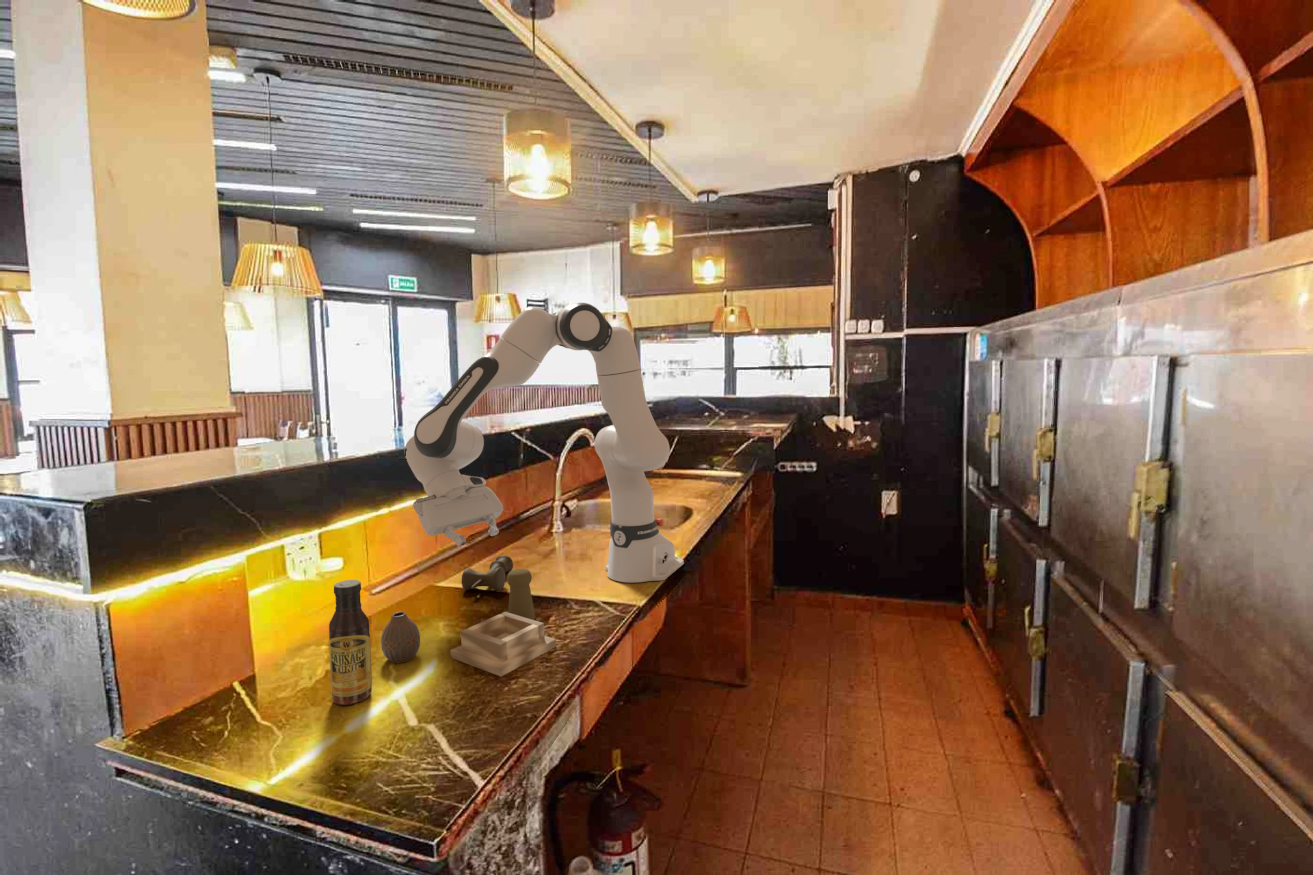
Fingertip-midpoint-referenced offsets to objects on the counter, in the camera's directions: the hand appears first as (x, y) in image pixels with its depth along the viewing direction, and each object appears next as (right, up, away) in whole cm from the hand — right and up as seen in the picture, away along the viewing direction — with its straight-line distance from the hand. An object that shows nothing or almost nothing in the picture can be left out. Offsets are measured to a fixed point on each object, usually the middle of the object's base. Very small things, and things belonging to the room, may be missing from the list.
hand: (479, 538), depth 141 cm
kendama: (-2, -15, +17) cm, 23 cm away
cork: (+11, -17, -5) cm, 21 cm away
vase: (-9, -19, -22) cm, 30 cm away
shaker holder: (+11, -18, -21) cm, 30 cm away
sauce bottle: (-11, -21, -36) cm, 43 cm away
